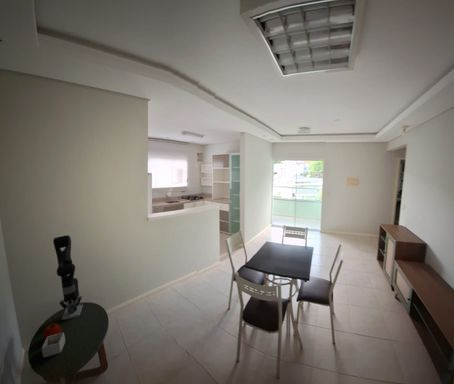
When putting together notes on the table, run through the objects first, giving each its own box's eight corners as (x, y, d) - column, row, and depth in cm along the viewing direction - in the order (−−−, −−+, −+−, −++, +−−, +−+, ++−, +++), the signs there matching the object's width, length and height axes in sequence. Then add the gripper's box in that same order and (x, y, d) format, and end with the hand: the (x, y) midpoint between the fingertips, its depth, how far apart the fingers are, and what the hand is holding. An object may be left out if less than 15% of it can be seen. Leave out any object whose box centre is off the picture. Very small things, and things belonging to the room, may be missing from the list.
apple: (43, 337, 162) (40, 326, 161) (60, 329, 170) (58, 317, 169) (45, 346, 155) (43, 333, 154) (63, 336, 163) (61, 325, 161)
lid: (66, 311, 159) (65, 302, 158) (83, 307, 163) (82, 298, 162) (62, 321, 150) (60, 312, 148) (79, 316, 154) (78, 308, 152)
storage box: (49, 345, 156) (47, 336, 154) (65, 341, 159) (63, 332, 158) (43, 357, 146) (41, 348, 145) (60, 352, 150) (59, 343, 149)
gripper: (82, 285, 159) (84, 305, 162) (59, 289, 154) (62, 310, 157) (79, 291, 152) (82, 312, 155) (55, 296, 147) (59, 317, 150)
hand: (72, 311), depth 156 cm, fingers closed on lid, 3 cm apart
